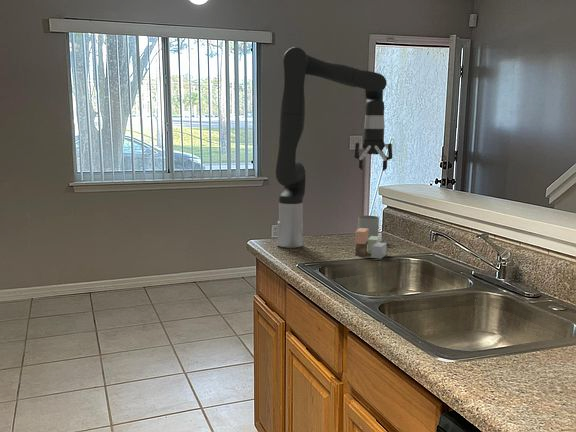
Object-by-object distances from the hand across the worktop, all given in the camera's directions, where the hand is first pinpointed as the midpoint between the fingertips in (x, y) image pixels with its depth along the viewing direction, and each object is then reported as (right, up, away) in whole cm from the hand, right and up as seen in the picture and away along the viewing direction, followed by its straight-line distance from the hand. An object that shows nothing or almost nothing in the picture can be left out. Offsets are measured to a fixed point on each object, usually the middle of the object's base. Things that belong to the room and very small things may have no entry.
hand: (372, 170), depth 215 cm
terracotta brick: (-5, -27, -8) cm, 29 cm away
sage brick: (0, -31, +1) cm, 31 cm away
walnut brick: (-5, -32, -7) cm, 33 cm away
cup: (0, -28, +15) cm, 32 cm away
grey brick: (+1, -33, -11) cm, 34 cm away
